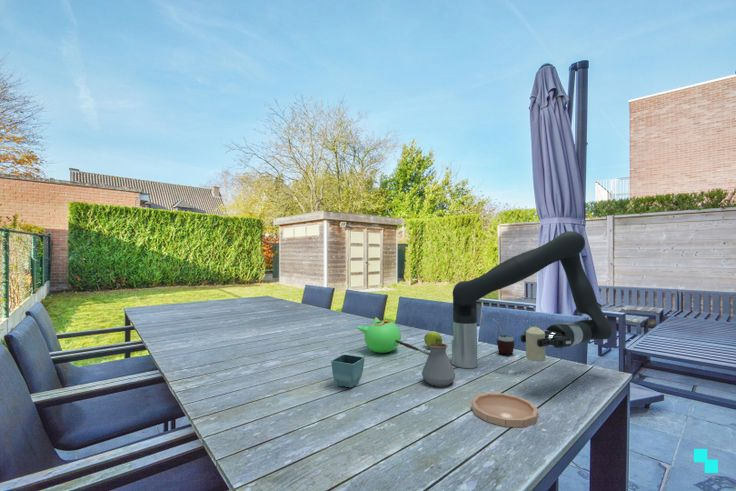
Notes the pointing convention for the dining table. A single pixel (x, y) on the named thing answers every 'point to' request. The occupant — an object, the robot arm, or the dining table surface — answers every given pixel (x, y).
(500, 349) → the mate gourd
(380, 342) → the green teapot
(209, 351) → the dining table surface
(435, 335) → the apple
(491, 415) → the saucer
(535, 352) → the candle
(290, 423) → the dining table surface
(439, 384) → the coffee pot
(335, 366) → the flower pot
